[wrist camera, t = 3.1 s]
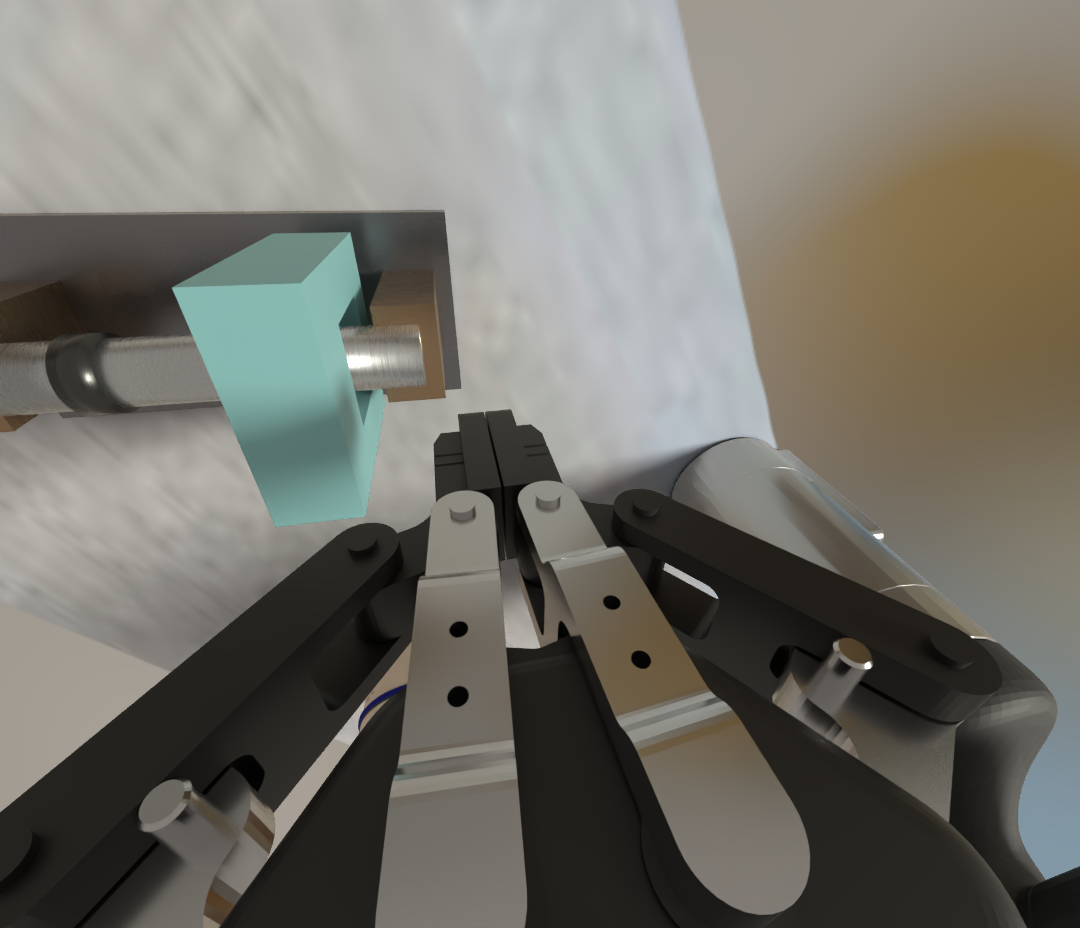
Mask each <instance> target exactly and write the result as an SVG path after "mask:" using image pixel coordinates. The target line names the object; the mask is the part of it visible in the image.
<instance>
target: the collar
mask: <svg viewBox="0 0 1080 928" xmlns="http://www.w3.org/2000/svg"><path fill="white" fill-rule="evenodd" d="M172 289H173V292H174V294H175V296H176V299H177V301H178V303H179V306H180V308H181V310H182V313H183V315H184V317H185V319H186V322H187V324H188V326H189V329H190V331H191V333H192V336H193V338H194V340H195V343H196V345H197V347H198V349H199V352H200V354H201V356H202V359H203V361H204V363H205V366H206V368H207V370H208V372H209V375H210V377H211V379H212V382H213V384H214V386H215V389H216V391H217V393H218V396H219V398H220V400H221V402H222V405H223V407H224V409H225V412H226V414H227V416H228V419H229V421H230V423H231V426H232V428H233V430H234V432H235V435H236V437H237V439H238V442H239V444H240V446H241V449H242V451H243V453H244V456H245V458H246V460H247V462H248V465H249V467H250V469H251V472H252V474H253V476H254V479H255V481H256V483H257V486H258V488H259V490H260V492H261V495H262V497H263V499H264V502H265V504H266V506H267V509H268V511H269V513H270V516H271V518H272V520H273V522H274V525H275V527H281V526H289V525H298V524H306V523H315V522H323V521H332V520H340V519H349V518H358V517H365V516H366V510H367V505H368V499H369V493H370V488H371V482H372V476H373V470H374V465H375V459H376V453H377V448H378V442H379V436H380V431H381V425H382V419H383V414H384V408H385V400H384V395H383V390H382V389H376V390H363V391H355V390H354V386H353V382H352V378H351V374H350V369H349V365H348V361H347V357H346V353H345V349H344V345H343V341H342V337H341V332H340V328H339V327H345V326H365V325H369V322H368V317H367V312H366V307H365V302H364V297H363V292H362V287H361V282H360V278H359V273H358V268H357V263H356V258H355V253H354V248H353V243H352V238H351V234H350V232H336V233H273V234H271V235H269V236H267V237H266V238H264V239H262V240H260V241H258V242H256V243H254V244H252V245H251V246H249V247H247V248H245V249H243V250H241V251H239V252H237V253H236V254H234V255H232V256H230V257H228V258H226V259H224V260H222V261H221V262H219V263H217V264H215V265H213V266H211V267H209V268H207V269H206V270H204V271H202V272H200V273H198V274H196V275H194V276H192V277H191V278H189V279H187V280H185V281H183V282H181V283H179V284H178V285H176V286H174V287H172Z"/></svg>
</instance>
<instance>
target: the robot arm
mask: <svg viewBox="0 0 1080 928" xmlns="http://www.w3.org/2000/svg"><path fill="white" fill-rule="evenodd" d="M458 420H459V429H460V432H451V433H441V434H440V436H439V437H438V439H437V440H436V442H435V443H434V464H435V488H436V503H435V504H434V505H433V508H432V510H431V515H430V517H428V518H427V519H426V520H425V521H424V522H422V523H421V524H419V525H417V526H415V527H413V528H411V529H408V530H405V531H403V532H400V533H396V531H395V530H394V529H393V528H391V527H389V526H387V525H384V524H380V523H365V524H360V525H357V526H354V527H351V528H349V529H347V530H345V531H343V532H342V533H340V534H339V535H338V536H336V537H335V538H334V539H333V540H332V541H330V542H329V543H328V544H327V545H326V546H324V547H323V548H322V549H321V550H319V551H318V552H317V553H316V554H315V555H313V556H312V557H311V558H310V559H308V560H307V561H306V562H305V563H304V564H302V565H301V566H300V567H299V568H297V569H296V570H295V571H294V572H293V573H291V574H290V575H289V576H288V577H287V578H285V579H284V580H283V581H282V582H280V583H279V584H278V585H277V586H276V587H274V588H273V589H272V590H271V591H269V592H268V593H267V594H266V595H265V596H263V597H262V598H261V599H260V600H258V601H257V602H256V603H255V604H254V605H252V606H251V607H250V608H249V609H248V610H246V611H245V612H244V613H243V614H241V615H240V616H239V617H238V618H237V619H235V620H234V621H233V622H232V623H230V624H229V625H228V626H227V627H226V628H224V629H223V630H222V631H221V632H219V633H218V634H217V635H216V636H215V637H213V638H212V639H211V640H210V641H209V642H207V643H206V644H205V645H204V646H202V647H201V648H200V649H199V650H198V651H196V652H195V653H194V654H193V655H191V656H190V657H189V658H188V659H187V660H185V661H184V662H183V663H182V664H181V665H179V666H178V667H177V668H176V669H174V670H173V671H172V672H171V673H170V674H168V675H167V676H166V677H165V678H164V679H162V680H161V681H160V682H159V683H157V684H156V685H155V686H154V687H153V688H151V689H150V690H149V691H148V692H146V693H145V694H144V695H143V696H142V697H140V698H139V699H138V700H137V701H136V702H135V703H133V704H132V705H131V706H129V707H128V708H127V709H126V710H125V711H123V712H122V713H121V714H120V715H118V716H117V717H116V718H115V719H114V720H112V721H111V722H110V723H109V724H107V725H106V726H105V727H104V728H103V729H101V730H100V731H99V732H98V733H97V734H95V735H94V736H93V737H92V738H90V739H89V740H88V741H87V742H85V743H84V744H83V745H82V746H81V747H79V748H78V749H77V750H76V751H75V752H74V753H72V754H71V755H70V756H68V757H67V758H66V759H65V760H64V761H62V762H61V763H60V764H59V765H57V766H56V767H55V768H54V769H53V770H51V771H50V772H49V773H48V774H46V775H45V776H44V777H43V778H42V779H40V780H39V781H38V782H37V783H36V784H34V785H33V786H32V787H31V788H29V789H28V790H27V791H26V792H25V793H23V794H22V795H21V796H20V797H18V798H17V799H16V800H15V801H14V802H12V803H11V804H10V805H9V806H8V807H6V808H5V809H4V810H3V811H1V812H0V928H1080V866H1079V867H1077V868H1075V869H1072V870H1070V871H1067V872H1065V873H1062V874H1060V875H1057V876H1055V877H1052V878H1050V879H1048V880H1045V878H1044V877H1043V875H1042V874H1041V872H1040V871H1039V870H1038V868H1037V867H1036V865H1035V864H1034V862H1033V861H1032V859H1031V858H1030V856H1029V855H1028V853H1027V851H1026V849H1025V847H1024V845H1023V843H1022V840H1021V837H1020V834H1019V828H1018V805H1019V799H1020V793H1021V789H1022V786H1023V783H1024V780H1025V777H1026V775H1027V772H1028V770H1029V768H1030V766H1031V764H1032V762H1033V760H1034V759H1035V757H1036V755H1037V753H1038V752H1039V750H1040V749H1041V747H1042V745H1043V744H1044V742H1045V741H1046V739H1047V737H1048V736H1049V734H1050V732H1051V730H1052V729H1053V727H1054V724H1055V721H1056V717H1057V704H1056V701H1055V699H1054V697H1053V695H1052V693H1051V692H1050V691H1049V690H1048V688H1047V687H1046V686H1045V684H1044V683H1043V682H1042V681H1041V680H1040V679H1039V678H1038V677H1037V676H1036V675H1035V674H1034V673H1033V672H1032V671H1030V670H1029V669H1028V668H1027V667H1026V666H1025V665H1023V664H1022V663H1021V662H1020V661H1019V660H1018V659H1017V658H1015V657H1014V656H1013V655H1012V654H1010V652H1008V651H1007V650H1006V649H1005V648H1004V647H1003V646H1001V645H1000V644H999V643H997V642H996V641H995V640H994V639H993V638H992V637H991V636H990V635H989V634H987V633H986V632H985V631H984V630H983V629H982V628H981V627H979V626H978V625H977V624H976V623H975V622H974V621H972V620H971V619H970V618H969V617H968V616H967V615H966V614H964V613H963V612H962V611H961V610H960V609H959V608H957V607H956V606H955V605H954V604H953V603H952V602H951V601H949V600H948V599H947V598H946V597H945V596H944V595H942V594H941V593H940V592H939V591H937V590H936V589H935V588H934V587H933V586H932V585H930V584H929V583H928V582H927V581H926V580H925V579H924V578H923V577H921V576H920V575H919V574H918V573H917V572H916V571H914V570H913V569H912V568H911V567H910V566H909V565H908V564H906V563H905V562H904V561H903V560H902V559H900V558H899V557H898V556H897V555H896V554H895V553H894V552H892V551H891V550H890V549H889V548H888V547H887V546H886V545H884V544H883V543H882V541H883V538H884V533H883V531H882V529H881V528H880V527H879V526H878V525H876V524H875V523H874V522H873V521H872V520H871V519H869V518H868V517H867V516H866V515H865V514H863V513H862V512H861V511H860V510H859V509H857V508H856V507H855V506H854V505H853V504H851V503H850V502H849V501H848V500H847V499H845V498H844V497H843V496H842V495H841V494H840V493H838V492H837V491H836V490H835V489H834V488H832V487H831V486H830V485H829V484H828V483H826V482H825V481H824V480H823V479H821V478H820V477H819V476H818V475H817V474H816V473H814V472H813V471H812V470H811V469H810V468H809V467H807V466H806V465H805V464H804V463H803V462H801V461H800V460H799V459H798V458H797V457H795V456H794V455H793V454H792V453H791V452H789V451H788V450H776V449H774V448H773V447H772V446H770V445H769V444H768V443H767V442H764V441H761V440H759V439H753V438H740V439H733V440H730V441H726V442H723V443H720V444H718V445H716V446H714V447H712V448H710V449H708V450H707V451H705V452H704V453H702V454H701V455H699V456H698V457H697V458H696V459H695V460H693V461H692V462H691V463H690V464H689V465H688V466H687V467H686V469H685V470H684V471H683V472H682V473H681V475H680V477H679V478H678V480H677V482H676V484H675V486H674V489H673V492H672V497H671V498H668V497H666V496H664V495H662V494H660V493H657V492H654V491H651V490H645V489H634V490H629V491H625V492H623V493H621V494H620V495H619V496H618V497H617V498H616V500H615V502H614V505H605V504H595V503H589V502H585V501H582V500H580V499H579V498H578V496H577V494H576V493H575V491H574V490H573V489H572V488H570V487H569V486H567V485H565V484H563V483H562V480H561V478H560V475H559V473H558V471H557V468H556V466H555V463H554V461H553V459H552V456H551V454H550V451H549V449H548V447H547V446H546V442H545V440H544V437H543V435H542V433H541V432H540V431H539V430H537V429H536V428H535V427H533V426H532V425H521V426H517V425H516V422H515V420H514V417H513V414H512V411H511V409H509V410H499V411H488V412H485V415H484V412H478V413H467V414H458ZM504 545H505V550H506V555H507V559H514V558H517V559H518V563H519V570H520V585H521V588H522V592H523V595H524V598H525V601H526V604H527V607H528V610H529V613H530V616H531V619H532V622H533V625H534V628H535V632H536V635H537V638H538V641H539V644H540V648H538V649H525V648H506V640H505V628H504V616H503V604H502V592H501V580H500V579H501V567H500V561H502V560H505V554H504ZM665 563H667V564H669V565H671V566H673V567H675V568H676V569H678V570H680V571H682V572H684V573H686V574H688V575H689V576H691V577H693V578H695V579H697V580H699V581H701V582H703V583H704V584H706V585H708V586H709V587H710V588H712V589H713V590H714V592H715V593H716V594H717V596H718V599H716V598H714V597H712V596H710V595H708V594H707V593H705V592H703V591H701V590H699V589H697V588H696V587H694V586H692V585H690V584H688V583H686V582H685V581H683V580H681V579H679V578H677V577H675V576H674V575H672V574H670V573H668V572H666V571H664V570H663V569H664V565H665ZM411 642H412V643H411ZM410 643H411V653H410V662H409V672H408V681H407V685H406V686H405V687H404V688H402V689H401V690H399V691H398V692H397V693H395V694H394V695H393V696H392V697H391V698H390V699H389V700H388V701H386V702H385V703H384V704H383V705H382V706H381V707H380V708H379V709H378V711H377V712H376V713H375V714H374V715H373V716H372V717H371V718H370V720H369V721H368V722H367V724H366V725H365V726H364V728H363V729H362V730H361V732H360V733H359V735H358V736H357V737H356V739H355V740H354V741H353V743H352V744H351V746H350V747H349V748H348V750H347V751H346V753H345V754H344V755H343V757H342V758H341V759H340V761H339V762H338V764H337V765H336V766H335V768H334V769H333V771H332V772H331V773H330V775H329V776H328V777H327V779H326V780H325V782H324V783H323V784H322V786H321V787H320V789H319V790H318V791H317V793H316V794H315V795H314V797H313V798H312V800H311V801H310V802H309V804H308V805H307V806H306V808H305V809H304V811H303V812H302V814H301V815H300V816H299V818H298V819H297V820H296V822H295V823H294V824H293V826H292V827H291V829H290V830H289V832H288V833H287V834H286V836H285V837H284V838H283V840H282V841H281V842H280V844H279V845H278V846H277V848H276V849H275V851H274V852H273V853H272V855H271V856H270V858H269V859H268V860H267V858H268V856H269V853H270V850H271V848H272V845H273V841H274V835H275V818H274V814H273V813H274V812H275V811H276V809H277V808H278V807H279V806H280V804H281V803H282V802H283V801H284V799H285V798H286V797H287V796H288V794H289V793H290V792H291V791H292V789H293V788H294V787H295V786H296V784H297V783H298V782H299V781H300V779H301V778H302V777H303V776H304V775H305V773H306V772H307V771H308V769H309V768H310V767H311V766H312V765H313V763H314V762H315V761H316V759H317V758H318V757H319V756H320V755H321V753H322V752H323V751H324V750H325V748H326V747H327V746H328V745H329V743H330V742H331V741H332V740H333V739H334V737H335V736H336V735H337V734H338V732H339V731H340V730H341V729H342V727H343V726H344V725H345V724H346V722H347V721H348V720H349V719H350V717H351V716H352V715H353V714H354V712H355V711H356V710H357V709H358V707H359V706H360V705H361V704H362V703H363V701H364V700H365V699H366V698H367V696H368V695H369V694H370V693H371V691H372V690H373V689H374V688H375V686H376V685H377V684H378V683H379V681H380V680H381V679H382V678H383V676H384V675H385V674H386V673H387V671H388V670H389V669H390V668H391V667H392V665H393V664H394V663H395V662H396V660H397V659H398V658H399V657H400V655H401V654H402V653H403V652H404V650H405V649H406V648H407V647H408V645H409V644H410ZM266 860H267V862H266ZM265 862H266V863H265Z"/></svg>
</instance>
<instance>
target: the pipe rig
mask: <svg viewBox="0 0 1080 928" xmlns="http://www.w3.org/2000/svg"><path fill="white" fill-rule="evenodd" d="M336 232H350V234H351V238H352V243H353V248H354V253H355V258H356V263H357V268H358V273H359V278H360V282H361V287H362V292H363V297H364V302H365V307H366V312H367V317H368V322H369V325H365V326H345V327H339V328H340V332H341V337H342V341H343V345H344V349H345V353H346V357H347V361H348V365H349V369H350V374H351V378H352V382H353V386H354V390H355V391H363V390H376V389H382V390H383V394H387V396H388V402H399V401H412V400H425V399H438V398H446V394H445V390H449V389H461V380H460V369H459V359H458V349H457V338H456V328H455V317H454V307H453V296H452V286H451V275H450V265H449V255H448V244H447V234H446V223H445V213H444V210H404V211H283V212H161V213H40V214H0V432H9V431H15V430H17V429H18V428H19V427H21V426H22V425H24V424H25V423H27V422H28V421H30V420H31V419H33V418H34V417H36V416H37V415H39V414H43V413H57V412H59V413H60V415H61V416H62V418H71V417H84V416H98V415H111V414H125V413H138V412H152V411H165V410H179V409H192V408H206V407H219V406H223V405H222V402H221V400H220V398H219V396H218V393H217V391H216V389H215V386H214V384H213V382H212V379H211V377H210V375H209V372H208V370H207V368H206V366H205V363H204V361H203V359H202V356H201V354H200V352H199V349H198V347H197V345H196V343H195V340H194V338H193V336H192V333H191V331H190V329H189V326H188V324H187V322H186V319H185V317H184V315H183V313H182V310H181V308H180V306H179V303H178V301H177V299H176V296H175V294H174V292H173V289H172V287H174V286H176V285H178V284H179V283H181V282H183V281H185V280H187V279H189V278H191V277H192V276H194V275H196V274H198V273H200V272H202V271H204V270H206V269H207V268H209V267H211V266H213V265H215V264H217V263H219V262H221V261H222V260H224V259H226V258H228V257H230V256H232V255H234V254H236V253H237V252H239V251H241V250H243V249H245V248H247V247H249V246H251V245H252V244H254V243H256V242H258V241H260V240H262V239H264V238H266V237H267V236H269V235H271V234H273V233H336Z"/></svg>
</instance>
